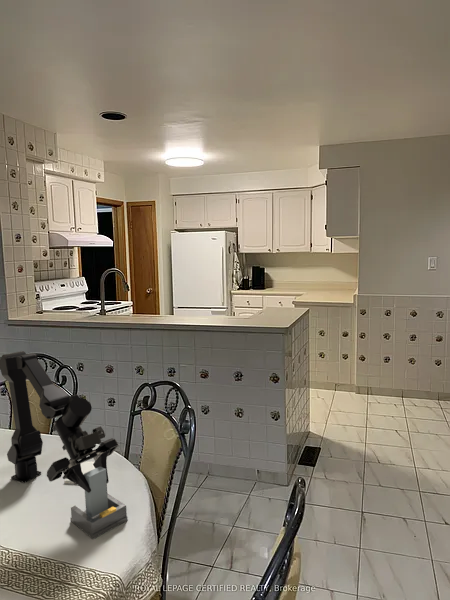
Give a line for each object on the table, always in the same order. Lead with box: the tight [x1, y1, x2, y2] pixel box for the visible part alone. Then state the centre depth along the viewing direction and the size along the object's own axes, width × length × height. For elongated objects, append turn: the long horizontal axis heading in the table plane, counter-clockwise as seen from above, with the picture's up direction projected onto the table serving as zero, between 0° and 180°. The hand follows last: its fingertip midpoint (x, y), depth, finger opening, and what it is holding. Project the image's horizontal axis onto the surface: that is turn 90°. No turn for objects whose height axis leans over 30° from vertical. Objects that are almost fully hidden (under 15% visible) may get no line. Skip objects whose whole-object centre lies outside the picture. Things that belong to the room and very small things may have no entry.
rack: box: [70, 492, 129, 540], centre depth 115 cm, size 11×10×5 cm
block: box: [84, 466, 108, 518], centre depth 115 cm, size 2×5×11 cm, turn 141°
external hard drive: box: [64, 460, 95, 485], centre depth 140 cm, size 2×8×12 cm
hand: (98, 487), depth 114 cm, fingers closed on block, 5 cm apart
